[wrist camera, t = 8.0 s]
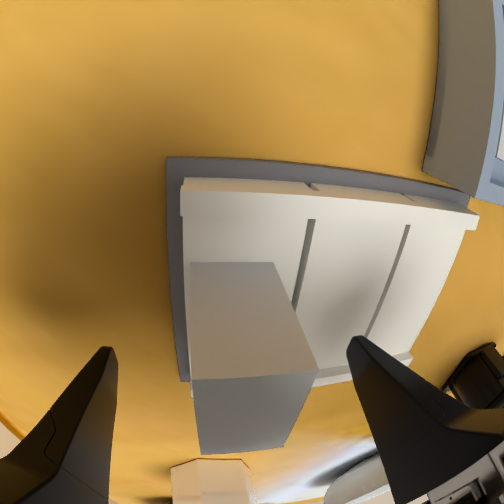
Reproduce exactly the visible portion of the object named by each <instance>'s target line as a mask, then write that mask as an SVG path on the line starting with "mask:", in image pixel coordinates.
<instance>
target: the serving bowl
mask: <svg viewBox="0 0 504 504" xmlns="http://www.w3.org/2000/svg"><path fill="white" fill-rule="evenodd" d="M389 490H391V489H390V486H389V483H388V480H387V477H386V474H385V471H384V467H383V464H382V461H381V458H380V455H379V454H376V455H374V456H372V457H370V458H368V459H366V460H364V461H362V462H360V463H358V464H356V465H355V466H353V467H352V468H350V469H349V470H348V472H346V473H344V474H343V475H342V476H340V477H339V478H338V479H336V480H335V481H334V482H333V483H332V484H331V485H330V487H329V488H328V490H327V492H326V494H325V497H324V504H359V503H361V502H364V501H366V500H369V499H371V498H373V497H376V496H378V495H380V494H383V493H385V492H387V491H389Z"/></svg>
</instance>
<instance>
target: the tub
mask: <svg viewBox="0 0 504 504" xmlns="http://www.w3.org/2000/svg"><path fill="white" fill-rule="evenodd" d="M422 171H423V172H425V173H427V174H429V175H431V176H433V177H435V178H437V179H439V180H441V181H443V182H445V183H447V184H449V185H451V186H453V187H455V188H457V189H459V190H461V191H463V192H464V193H466V194H468V195H470V196H472V197H473V198H476V199H480V200H483V201H487V202H491V203H495V204H498V205H502V206H504V0H439V57H438V71H437V83H436V92H435V100H434V108H433V115H432V121H431V128H430V133H429V139H428V144H427V150H426V155H425V159H424V164H423V168H422Z"/></svg>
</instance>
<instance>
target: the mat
mask: <svg viewBox="0 0 504 504" xmlns="http://www.w3.org/2000/svg"><path fill="white" fill-rule="evenodd" d="M184 177H203V178H239V179H260V180H277V181H292V182H304V183H305V184H306V185H307V186H308V187H309V188H310V186H311V183H316V184H327V185H337V186H347V187H356V188H364V189H372V190H380V191H387V192H394V193H400V194H401V195H403V196H404V194H408V195H414V196H421V197H427V198H433V199H438V200H444V201H449V202H455V203H459V204H461V205H463V206H464V207H466V208H467V206H468V202H469V199H470V195H468V194H466V193H464V192H463V191H461V190H457V189H453V188H449V187H444V186H440V185H436V184H431V183H427V182H422V181H417V180H412V179H407V178H402V177H396V176H391V175H385V174H379V173H373V172H367V171H360V170H353V169H346V168H339V167H331V166H323V165H314V164H305V163H295V162H284V161H272V160H258V159H241V158H217V157H167V159H166V218H167V246H168V265H169V280H170V293H171V305H172V316H173V326H174V335H175V344H176V352H177V360H178V367H179V374H180V381H181V382H190V380H191V375H190V364H189V353H188V340H187V326H186V310H185V291H184V265H183V216H180V190H181V185H183V183H184Z"/></svg>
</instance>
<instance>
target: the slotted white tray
mask: <svg viewBox="0 0 504 504" xmlns="http://www.w3.org/2000/svg"><path fill="white" fill-rule="evenodd" d="M180 216H183V265H184V291H185V310H186V326H187V340H188V353H189V364H190V375H191V380H190V390H191V398H193V399H194V407H195V415H196V423H197V431H198V438H199V445H200V452H201V455H209V454H227V453H239V452H250V451H258V450H266V449H273V448H280V447H283V446H284V444H285V442H286V440H287V438H288V436H289V434H290V432H291V430H292V428H293V426H294V424H295V422H296V420H297V418H298V416H299V414H300V412H301V409H302V407H303V405H304V403H305V401H306V399H307V396H308V394H309V392H310V390H311V387H317V386H323V385H329V384H334V383H339V382H344V381H349V380H353V379H352V375H351V372H350V368H349V364H348V360H347V357H346V350H347V347H348V345H349V343H350V340H351V338H352V337H353V336H358V335H363V336H364V337H366V338H367V339H369V340H370V341H371V342H373V343H374V344H376V345H377V346H378V347H380V348H381V349H383V350H384V351H385V352H387V353H388V354H390V355H391V356H393V357H394V358H395V359H397V360H398V361H400V362H401V363H402V364H404V365H405V366H408V365H409V364H410V362H411V361H412V359H413V357H412V355H411V354H410V352H409V350H410V348H411V347H412V345H413V343H414V342H415V340H416V338H417V336H418V335H419V333H420V331H421V329H422V327H423V325H424V324H425V322H426V320H427V318H428V316H429V314H430V312H431V310H432V308H433V306H434V304H435V302H436V300H437V298H438V296H439V294H440V292H441V290H442V287H443V285H444V283H445V281H446V278H447V276H448V274H449V272H450V269H451V267H452V264H453V262H454V259H455V257H456V254H457V252H458V249H459V247H460V244H461V241H462V239H463V236H464V233H465V230H476V227H477V224H478V221H479V218H480V216H479V215H478V214H476V213H475V212H473V211H471V210H469V209H468V208H466V207H464V206H463V205H461V204H459V203H455V202H449V201H444V200H438V199H433V198H427V197H421V196H414V195H408V194H404V196H403V195H401V194H400V193H394V192H387V191H380V190H372V189H364V188H356V187H347V186H337V185H327V184H316V183H311V186H310V188H309V187H308V186H307V185H306V184H305V183H304V182H292V181H277V180H260V179H239V178H203V177H184V183H183V185H181V190H180Z"/></svg>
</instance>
